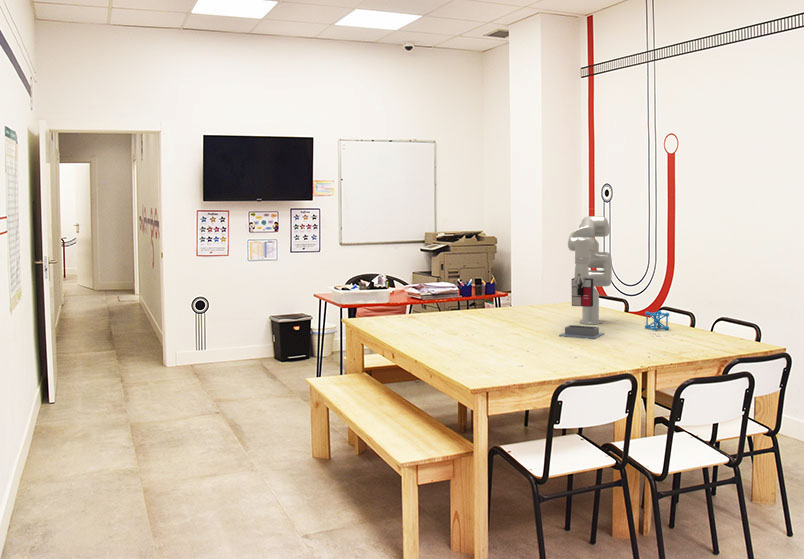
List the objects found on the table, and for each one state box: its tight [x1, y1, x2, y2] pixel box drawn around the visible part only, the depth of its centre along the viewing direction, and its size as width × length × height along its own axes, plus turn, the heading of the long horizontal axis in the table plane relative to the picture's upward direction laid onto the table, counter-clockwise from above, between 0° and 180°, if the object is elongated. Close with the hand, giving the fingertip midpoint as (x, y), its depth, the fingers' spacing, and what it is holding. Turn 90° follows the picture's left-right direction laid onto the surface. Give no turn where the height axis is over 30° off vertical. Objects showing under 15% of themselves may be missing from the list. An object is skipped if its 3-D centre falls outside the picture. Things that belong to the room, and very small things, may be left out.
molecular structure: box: [644, 310, 670, 331], centre depth 411 cm, size 10×10×10 cm
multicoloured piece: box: [571, 277, 593, 307], centre depth 395 cm, size 11×4×15 cm, turn 60°
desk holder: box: [558, 324, 605, 340], centre depth 397 cm, size 16×20×4 cm
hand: (582, 294), depth 395 cm, fingers closed on multicoloured piece, 3 cm apart
